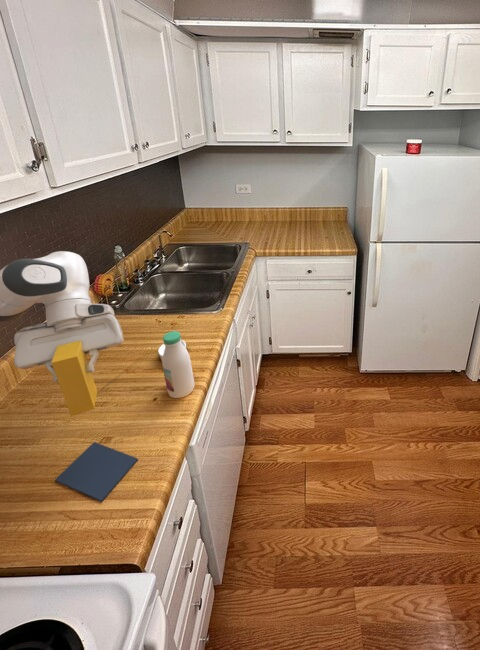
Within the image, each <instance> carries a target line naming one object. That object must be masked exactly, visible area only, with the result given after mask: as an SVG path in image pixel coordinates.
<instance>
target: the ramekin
mask: <svg viewBox="0 0 480 650" xmlns="http://www.w3.org/2000/svg"><path fill="white" fill-rule="evenodd" d="M181 343H182V345H183V346H184V347H185V348H186V349H187V343H186V341H185V340H183V339H181ZM164 351H165V345H164V343H162V344H161V345H160V346H159V347H158V349H157V353H158V355H159V357H160V360H161V361H162V357H163V354H164Z"/></svg>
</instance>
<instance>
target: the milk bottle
mask: <svg viewBox="0 0 480 650" xmlns="http://www.w3.org/2000/svg"><path fill="white" fill-rule="evenodd" d="M181 340H182V337H181V332H179V331H177V330H171V331H168V332H167V333H165V334H164V335H163V337H162V341H163V344H164V345H165V351H164V354H163V357H162V360H161V365H162V371H163V375H164V381H165V386H166V390H167V394H168V395H169V396H170V397H171V398H173V399H182V398H185V397H188V395H190V394H191V393H192V392H193V391H194V389H195V378H194V372H193V367H192V361H191V356H190V353H189V351H188V349H187V347H186V348H185V347H184V346H183V345H182V343H181Z"/></svg>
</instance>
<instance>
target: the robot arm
mask: <svg viewBox="0 0 480 650" xmlns="http://www.w3.org/2000/svg"><path fill="white" fill-rule="evenodd" d="M89 275H90V274H89V270H88V266H87V264H86V262H85V260H84V258H83V257H82V256H81V254H78V253H76V252H72V251H67V250H66V251H65V250H58V251H54V252H50V253H49V254H48V255H44V256H42V257H37V258H20V259H15V260H13V261H10V263H8V264H7V265H5V266H4V267H3V268H1V269H0V322H8V321H12V320H16V319H18V318H20V317H21V316H22V315H24V314H25V313H26V312H27V311H28V310H29V309H30V308H31V307H32V306H34V305H35V304H43V305H44V306H45V322H41V323H36V324H32V325H26V326H23V327H22V328H21V329H19V330H18V331H17V332H15V334H14V335H13V336H14V338H13V341H14V343H13V344H14V346H15V350H14V355H13V357H14V359H13V364H14V366H15V367H16V368H17V369H21V370H28V369H31V368H32V369H33V368H36V367H40V366H44V365H45V368H46V369H47V371H49V372H50V373H51V374H52V381H53V383H59V382H58V379H57V377H56V374H55V371H54V369H53V366H52V360H53V357H54V354H55V351H56V348H57V346H60V345H64V344H68V343H72V342H76V341H81V342H82V351H83V352H85V354H86V355H88V354H89V356H90V357H91V358H90V360H89V361H88V364H87V365H85V372H86V373H94V372H95V364H96V362H97V360H98V358H99V356H100V354H99V351H103V350H107V349H111V348H115V347H119V346H121V345H122V344H123V342H124V340H125V339H124V338H125V337H124V332H123V330H122V327H121V323H120V322H119V320H118V319H117V318H116V317H115V310H114V308H113V307H112V306H110V305H109V304H106V303H92V299H91V296H90V292H89V291H90V287H91V285H90V284H91V283H90V276H89Z"/></svg>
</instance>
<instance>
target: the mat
mask: <svg viewBox="0 0 480 650" xmlns="http://www.w3.org/2000/svg"><path fill="white" fill-rule="evenodd" d="M137 462H139V459H138V458H137V457H135V456H133V455H130V454H127V453H125V452H122V451H119V450H116V449H114V448H111V447H109V446H106V445H103V444H101V443H99V442H95V441H93V442H92V443H91V444H90V445H89V446H88V447H87V448H86V449H85V450H84V451H83V452H82V453H81V454H80V455H79V456H78V457H77V458H76V459H74V461H73V462H71V464H69V465H68V466H67V467H66V469H64V470H63V471H62V472H61V473H60V474H59V475H58V476H57V477H56V478H55V479H54V481H55V483H58V484H60V485H62V486H65V487H67V488H69V489H72V490H74V491H76V492H78V493H80V494H82V495H84V496H87V497H89V498H91V499H94V500H96V501H97V502H100V503H103V502H104V501H105V500H106V498H107V497H108V496H109V495H110V493H111V492H112V491H113V490H114V489H115V488H116V487H117V486H118V484H119V483H120V482H121V481H122V479H123V478H124V477H125V476H126V475H127V474H128V473H129V472H130V470H131V469H132V468H133V467H134V466H135V464H136V463H137Z"/></svg>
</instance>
